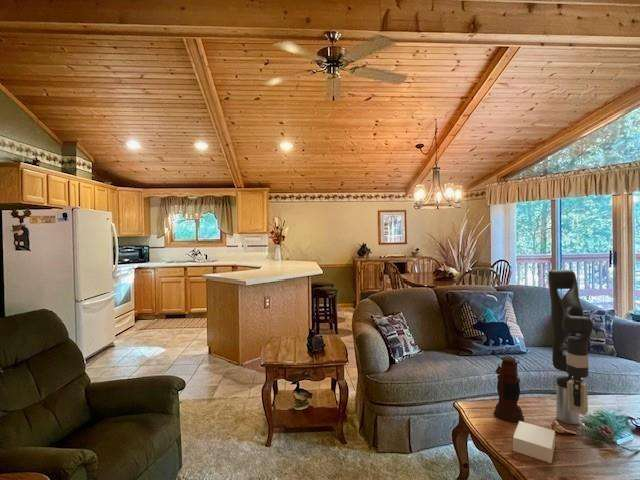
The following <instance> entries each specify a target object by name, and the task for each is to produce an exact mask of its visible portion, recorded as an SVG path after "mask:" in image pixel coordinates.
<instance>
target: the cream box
mask: <svg viewBox="0 0 640 480" xmlns="http://www.w3.org/2000/svg"><path fill="white" fill-rule="evenodd" d="M512 436H513V437H512V451H513V452H515V453H519V454H521V455H525V456H527V457H531V458H534V459H537V460H540V461H543V462H546V461H547V462H546V463H549V464H552V463H553V462H552V461H553V456H554V453H553V452H555V447H556V430H553V429H549V428H546V427H542V426H539V425H536V424H532V423H529V422H524V421H523V422H522V421H519V423H517V426H516V429H515V431H514V434H513V435H512Z"/></svg>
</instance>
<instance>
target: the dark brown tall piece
mask: <svg viewBox="0 0 640 480" xmlns="http://www.w3.org/2000/svg"><path fill="white" fill-rule="evenodd" d="M500 359H501V363H498V364H497V368H496V370H495V373H496V374H497V375H496V376H497V377H496V378H497V384H496V389H497V394H498V402H497V403H496V405H495V407H494V410H493V415H494V417H495V418H497V420H500V421H503V422H504V423H509V424H518V423H519V421H522V422H524V421H525V416H524V415H523V410H522V407H521V406H520V405H519V404H518V402H519V399H520V394H521V386H520V383H521V380H520V378H519V377H518V375H519V372H518V364H519V363H520V358H519V357H517V356H514V357H511V356H502V357H501V358H500ZM517 359H518V361H517Z"/></svg>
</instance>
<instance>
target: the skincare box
mask: <svg viewBox="0 0 640 480" xmlns="http://www.w3.org/2000/svg"><path fill="white" fill-rule="evenodd" d="M571 381H572V380H571V379H570V380H569V381H568V382H567V396H568V410H570V411H573V412H576V413H579V415H582V416H585V415H586V414H587V413H588V412H589V407H588V405H589V404H588V403H589V402H588V401H589V399H588V397H589V396H588V383H587V382H583V385H582V386H581V385H580V386H581V388H582V392H581V399H580V403H581V405H580V407H578V406H575V405H574V397H573V390H572V382H571ZM575 394H577V395H579V394H578V393H575Z"/></svg>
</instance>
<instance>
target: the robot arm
mask: <svg viewBox="0 0 640 480" xmlns="http://www.w3.org/2000/svg"><path fill="white" fill-rule="evenodd" d="M547 278H548V286H549V295H550V296H549V297H550V315H551V317H550V318H551V328H552V329H551V330H552V331H551V332H552V353H551V355H552V356H551V357H552V361H551V362H552V366H553V367H554V368H555V369H556V370H558V371H561V372H564V373H567V375H564V376H563V375H561V376H557V378H556V381H555V383H556V385H555V386H556V395H555V396H556V416H555V417H556V419H557V420H558V421H560V422H561V423H565V424H569V425H578V424H579V423H580V414H579V413H576V412H573V411H570V410H568V396H567V382H568V381H569V380H570V379H571V380H572V381H571V382H572V390H573V397H574V405H575V406H578V407H580V405H581V403H580V399H581V392H582V388H581V386H582V385H583V383H584V379H586V378H588V377H589V366H590V365H589V356H588V355H589V348H588V346H589V341H590V338H591V335H592V333H593V330H594V323H593V321H592V318H590V317H588V316H583V315H584V309H583V306H582V304H581V302H580V301H581V300H580V296H579V295H580V294H579V286H578V279H577V275H576V273H575V272H574V271H573V270H572V269H553V270H549V272H548V276H547ZM558 290H568V291H567V292H566V293H565V294H564V295H563V297H562V298H561V296H560V294H559V292H558ZM572 334H580V335H579V336H573V337H571V335H572ZM565 342H566V352H564V345H565ZM580 385H581V386H580ZM575 393H578V394H579V395H577V394H575Z"/></svg>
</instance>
